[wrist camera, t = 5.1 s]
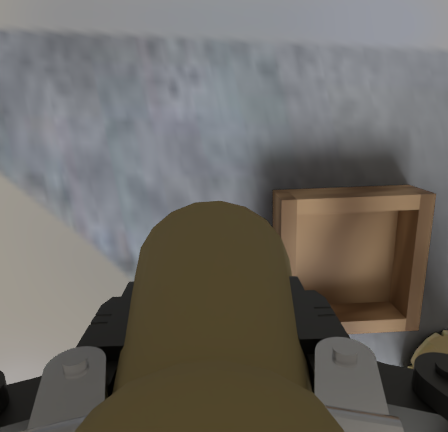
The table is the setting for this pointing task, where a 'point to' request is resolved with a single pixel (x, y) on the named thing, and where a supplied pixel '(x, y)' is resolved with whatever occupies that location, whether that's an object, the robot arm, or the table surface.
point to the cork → (212, 333)
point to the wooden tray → (360, 250)
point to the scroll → (432, 345)
